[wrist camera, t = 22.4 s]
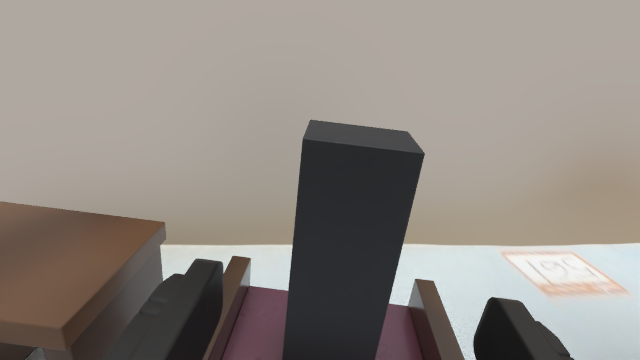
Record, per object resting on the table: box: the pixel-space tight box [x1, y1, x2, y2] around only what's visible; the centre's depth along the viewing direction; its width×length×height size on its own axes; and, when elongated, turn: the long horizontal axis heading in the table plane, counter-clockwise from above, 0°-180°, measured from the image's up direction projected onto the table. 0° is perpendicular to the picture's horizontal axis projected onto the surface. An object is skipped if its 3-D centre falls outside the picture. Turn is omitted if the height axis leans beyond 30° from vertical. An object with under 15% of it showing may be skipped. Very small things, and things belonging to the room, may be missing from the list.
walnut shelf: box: [0, 202, 166, 360], centre depth 18 cm, size 10×8×10 cm
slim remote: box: [282, 120, 425, 360], centre depth 16 cm, size 4×3×12 cm
